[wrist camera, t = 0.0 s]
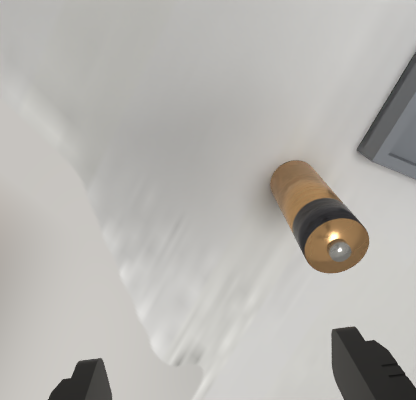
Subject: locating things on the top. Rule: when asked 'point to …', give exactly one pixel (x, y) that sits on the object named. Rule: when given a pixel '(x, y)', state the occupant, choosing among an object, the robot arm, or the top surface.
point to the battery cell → (318, 218)
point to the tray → (395, 128)
